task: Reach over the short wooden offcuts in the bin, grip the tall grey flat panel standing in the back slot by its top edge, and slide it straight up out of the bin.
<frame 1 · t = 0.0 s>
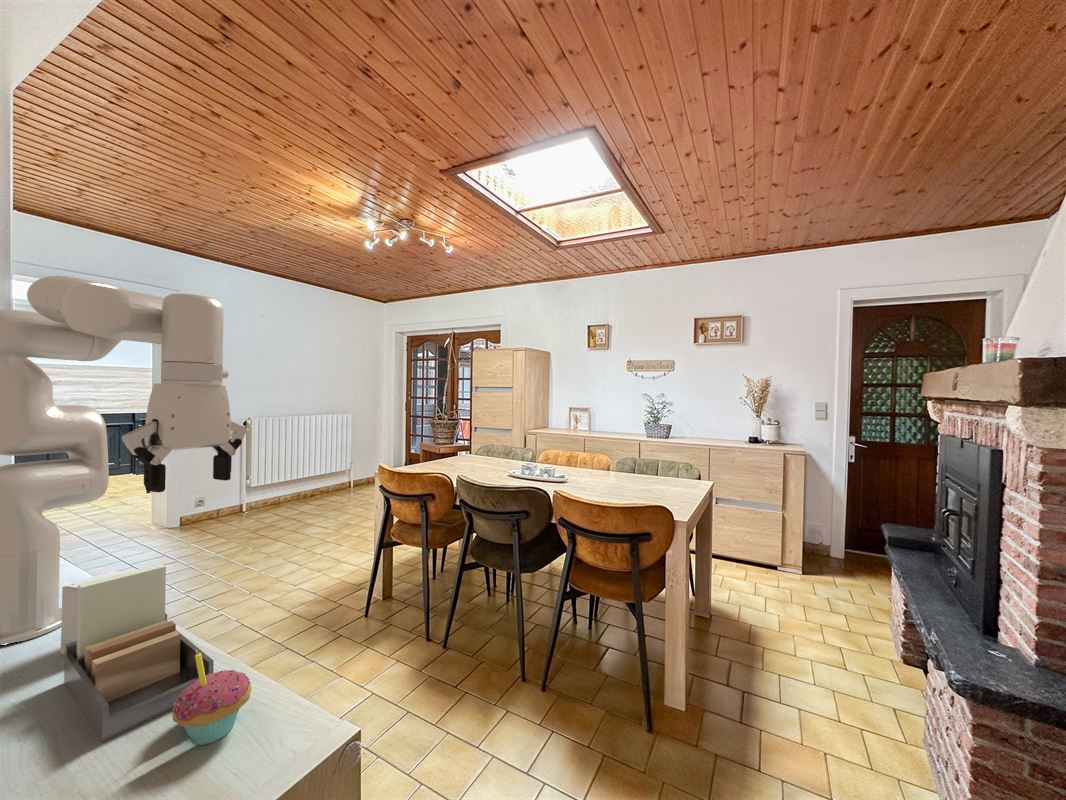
hand: (190, 485, 67), 31 cm above the table, tool pointing down, fingers open, 9 cm apart
supplement box: (101, 652, 75), on the table
bin: (137, 694, 65), on the table
cupcake: (212, 732, 58), on the table
grey flat panel: (122, 668, 69), point 1 cm above the table, touching bin
offcuts: (133, 681, 66), point 1 cm above the table, touching bin
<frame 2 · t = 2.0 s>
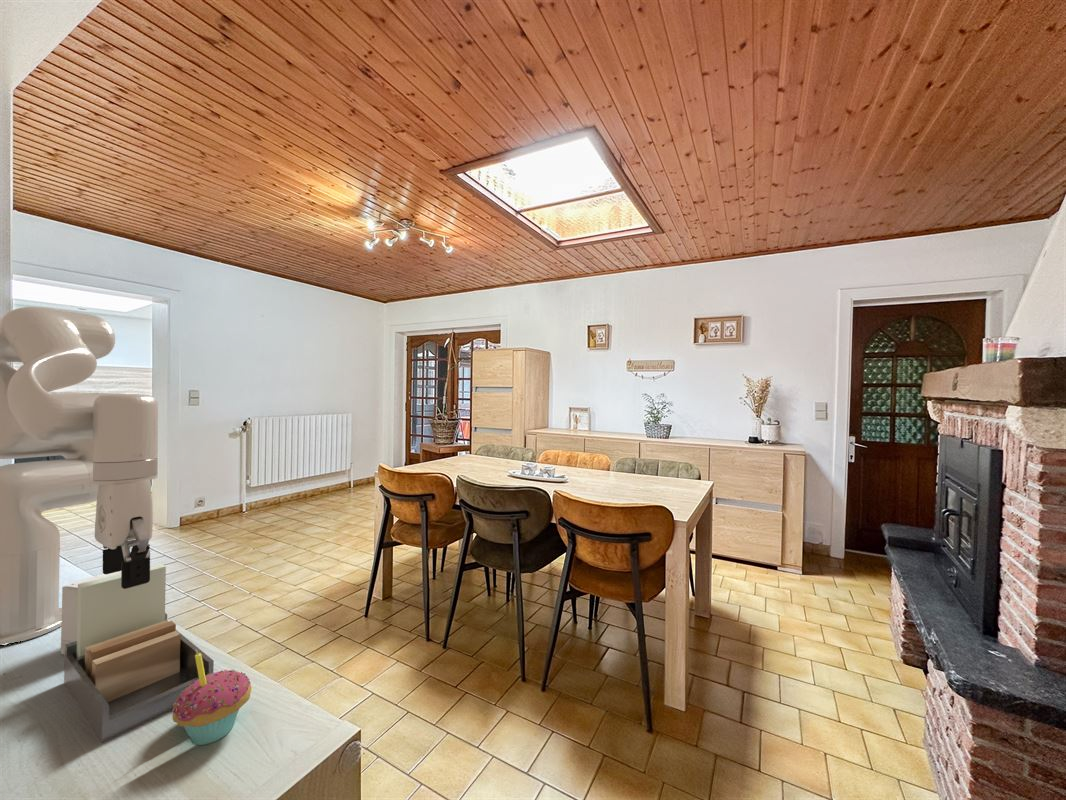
hand: (125, 578, 69), 16 cm above the table, tool pointing down, fingers open, 9 cm apart
nothing on the table moved.
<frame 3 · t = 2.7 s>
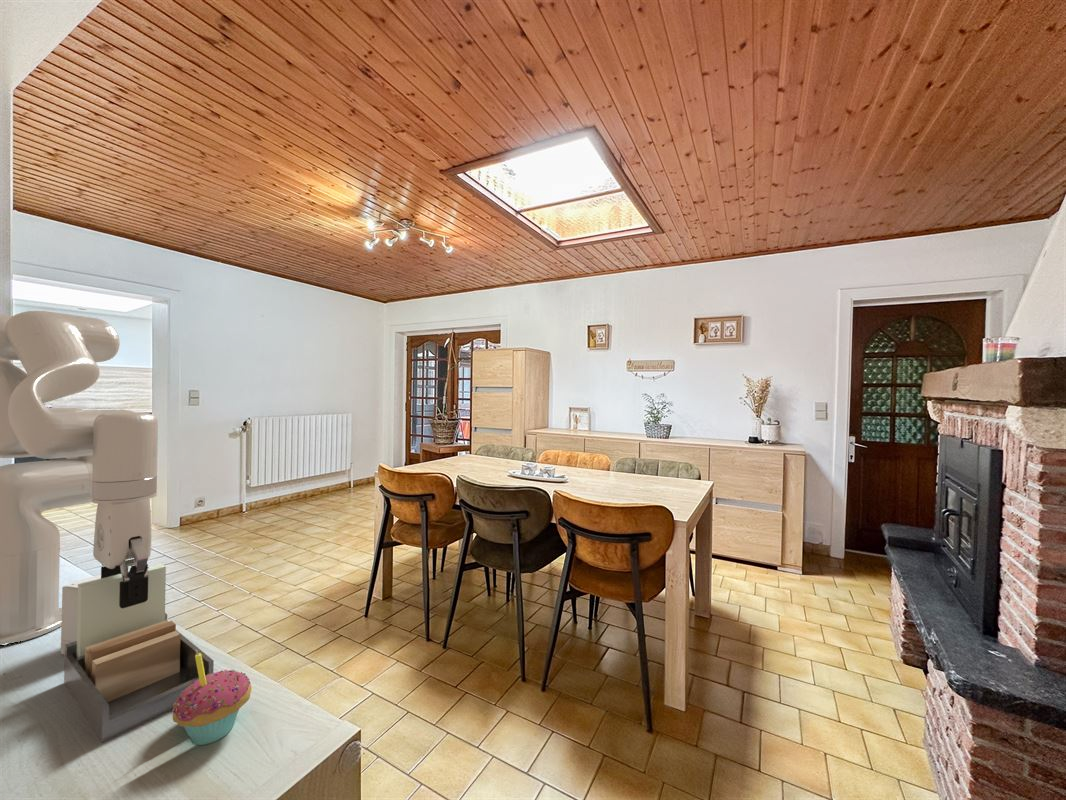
hand: (123, 596, 69), 13 cm above the table, tool pointing down, fingers open, 9 cm apart
nothing on the table moved.
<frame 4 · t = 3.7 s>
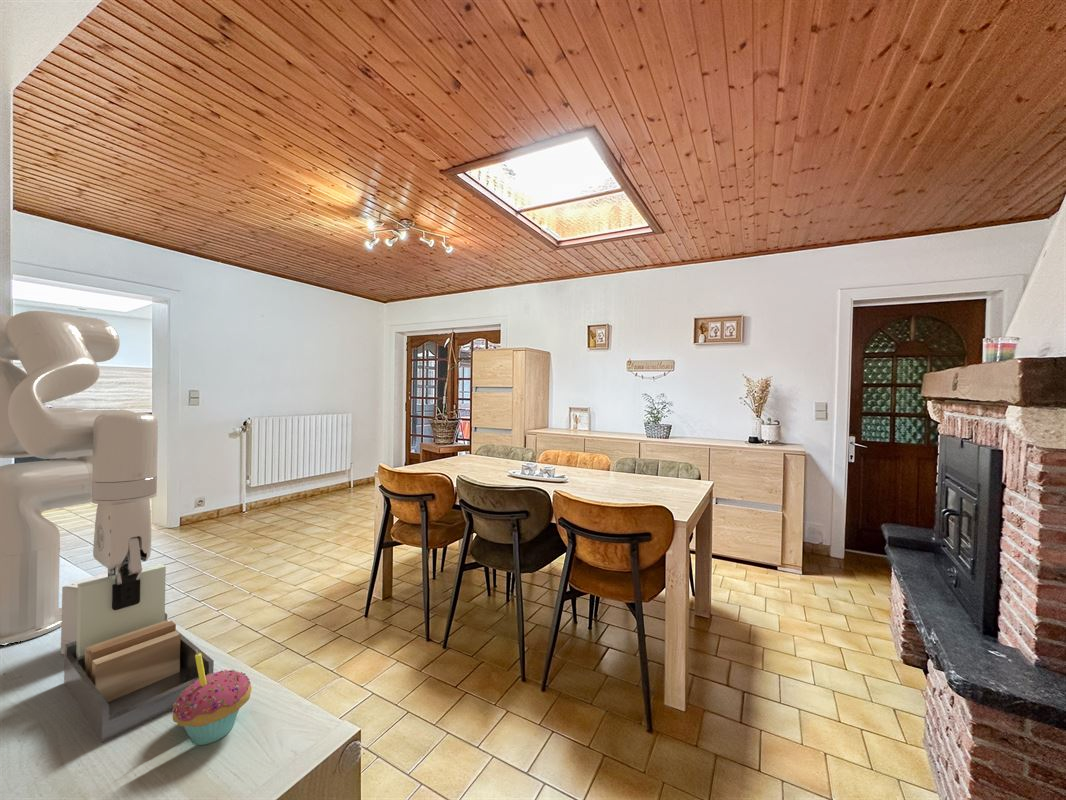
hand: (123, 603, 69), 12 cm above the table, tool pointing down, fingers closed on grey flat panel, 2 cm apart
grey flat panel: (122, 668, 69), point 1 cm above the table, touching gripper
everything else where it was.
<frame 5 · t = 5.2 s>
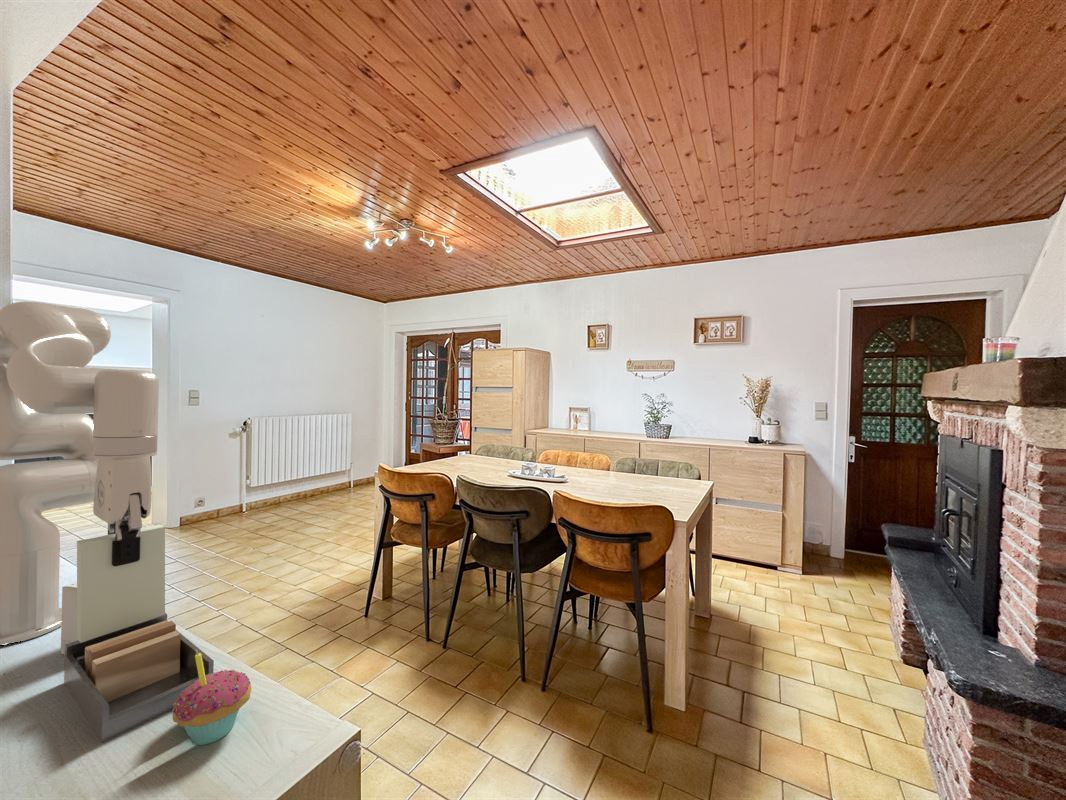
hand: (123, 560, 69), 18 cm above the table, tool pointing down, fingers closed on grey flat panel
grey flat panel: (123, 625, 69), point 8 cm above the table, touching gripper
everything else where it was.
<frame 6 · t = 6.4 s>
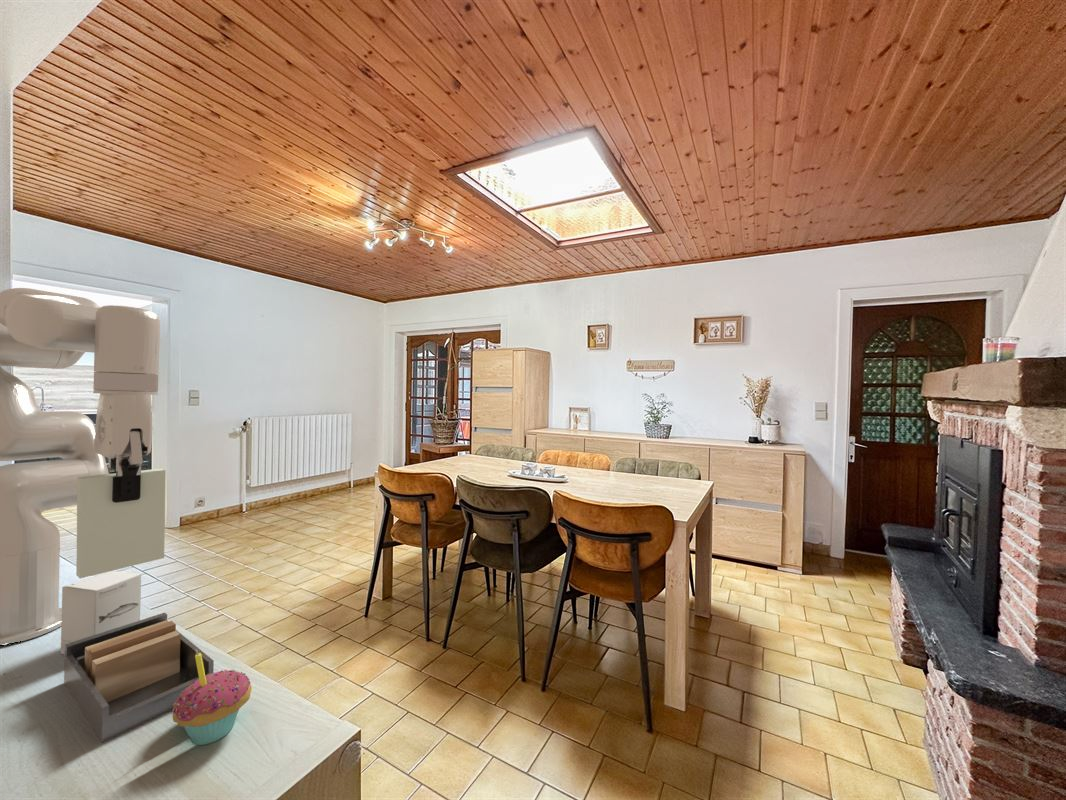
hand: (123, 498, 69), 28 cm above the table, tool pointing down, fingers closed on grey flat panel
grey flat panel: (122, 566, 69), point 17 cm above the table, touching gripper
everything else where it was.
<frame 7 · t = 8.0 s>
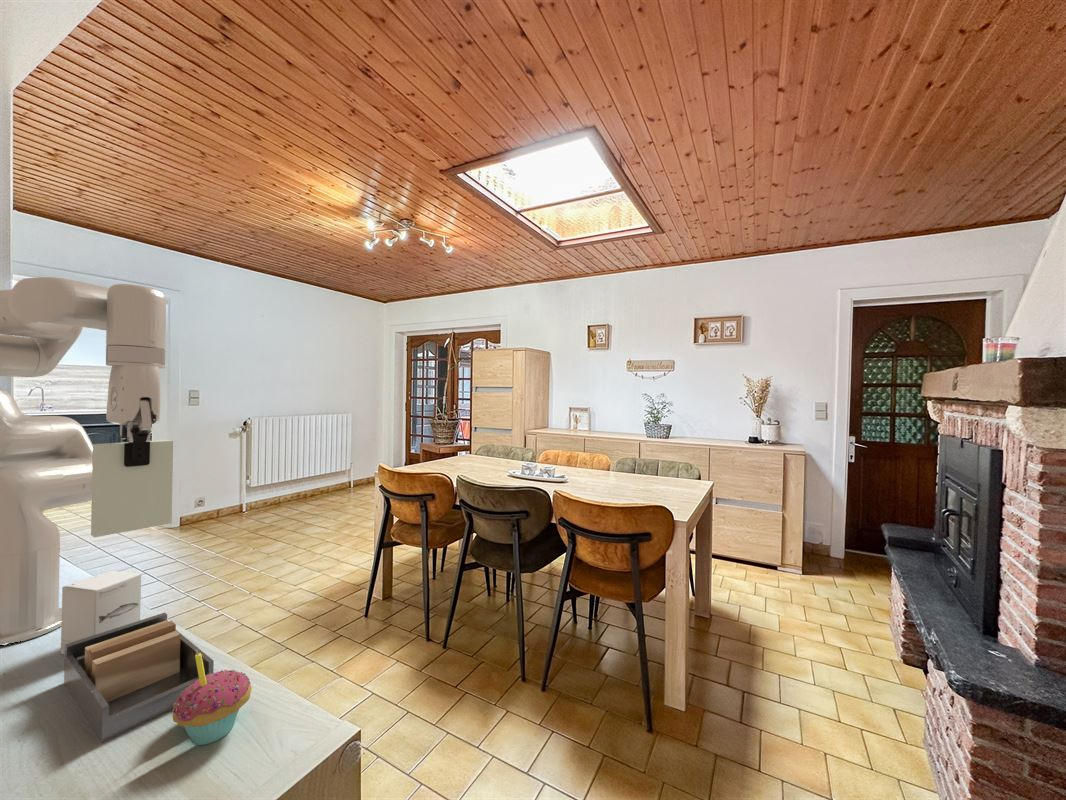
hand: (134, 464, 74), 33 cm above the table, tool pointing down, fingers closed on grey flat panel
grey flat panel: (133, 528, 74), point 22 cm above the table, touching gripper
everything else where it was.
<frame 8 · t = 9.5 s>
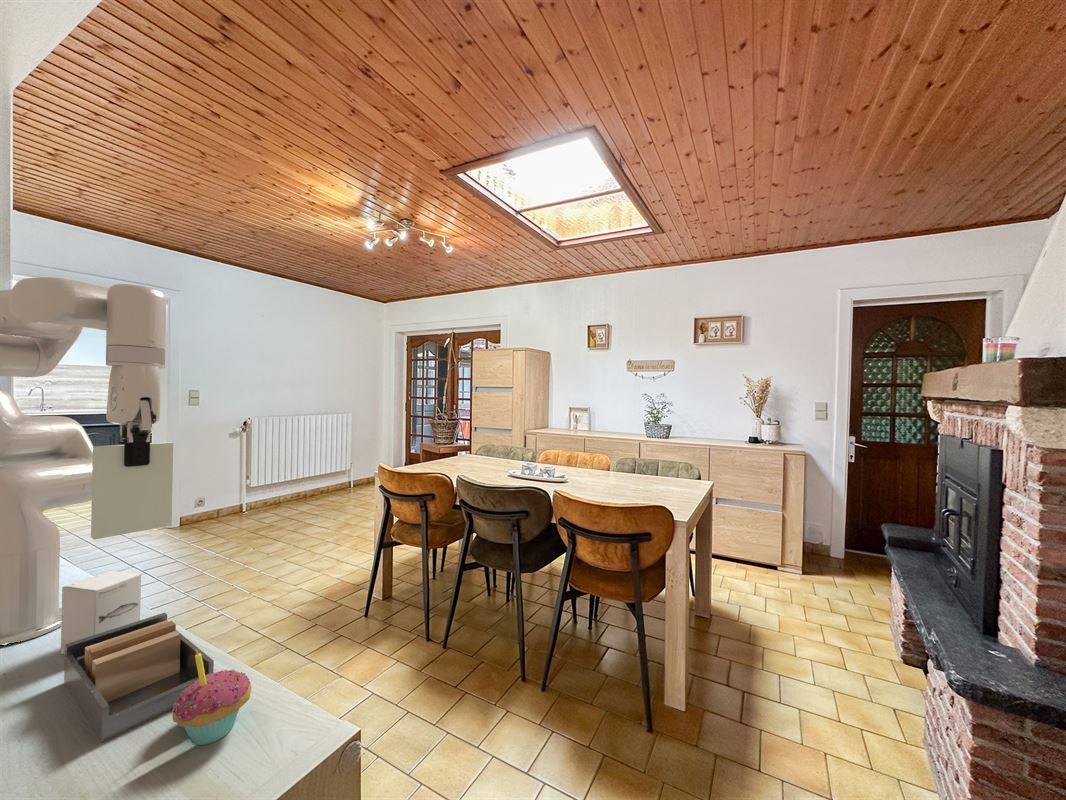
hand: (134, 464, 74), 33 cm above the table, tool pointing down, fingers closed on grey flat panel
grey flat panel: (133, 530, 74), point 21 cm above the table, touching gripper
everything else where it was.
at the end: grey flat panel point 21.5 cm above the table; the gripper is holding grey flat panel; offcuts moved 0.0 cm from its start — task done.
